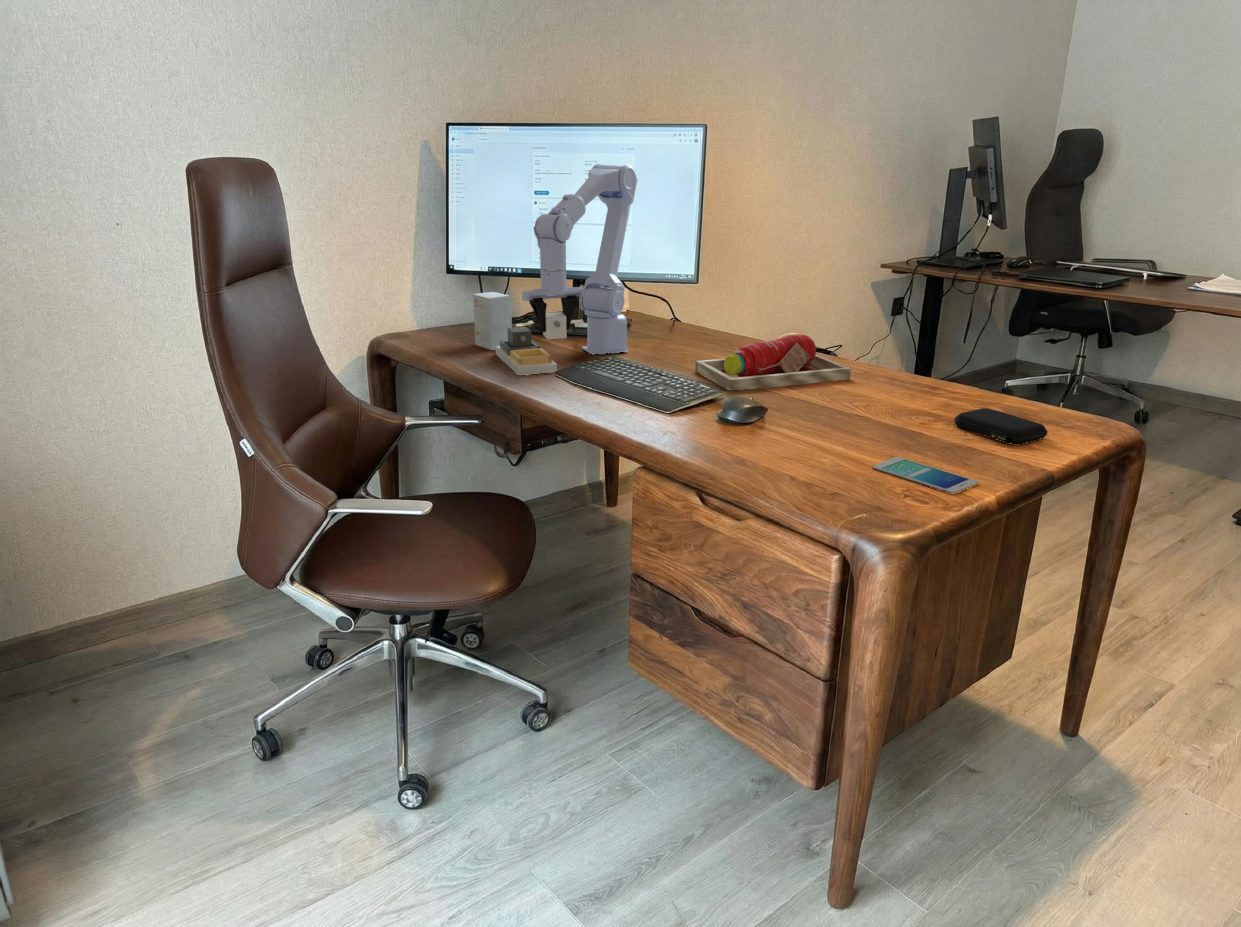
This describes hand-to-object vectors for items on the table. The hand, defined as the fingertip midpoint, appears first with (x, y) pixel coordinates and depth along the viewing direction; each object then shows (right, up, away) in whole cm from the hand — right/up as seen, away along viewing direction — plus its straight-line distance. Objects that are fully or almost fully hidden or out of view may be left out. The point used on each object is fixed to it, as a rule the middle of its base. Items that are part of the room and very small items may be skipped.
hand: (554, 330), depth 208 cm
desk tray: (+49, -11, -4) cm, 50 cm away
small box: (-17, -1, +22) cm, 28 cm away
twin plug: (-9, -3, +9) cm, 13 cm away
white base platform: (-7, -7, +5) cm, 11 cm away
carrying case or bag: (+84, -25, -42) cm, 97 cm away
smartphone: (+63, -33, -63) cm, 95 cm away
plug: (0, -1, 0) cm, 1 cm away
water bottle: (+49, -11, -4) cm, 50 cm away
